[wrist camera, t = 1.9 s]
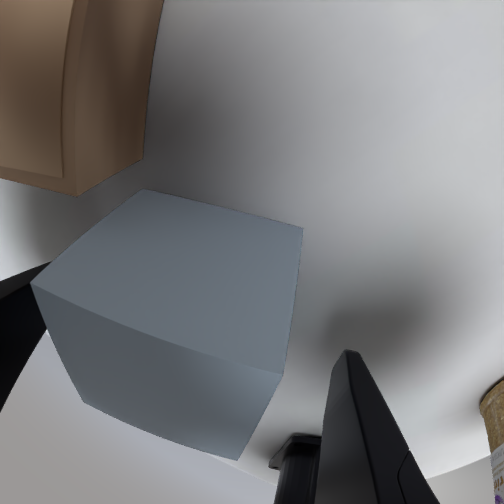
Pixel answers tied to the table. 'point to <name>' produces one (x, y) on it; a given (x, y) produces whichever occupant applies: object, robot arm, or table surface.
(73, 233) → the table surface
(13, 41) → the base block
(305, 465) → the robot arm
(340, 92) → the table surface
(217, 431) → the blue cube
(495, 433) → the sprinkles bottle
